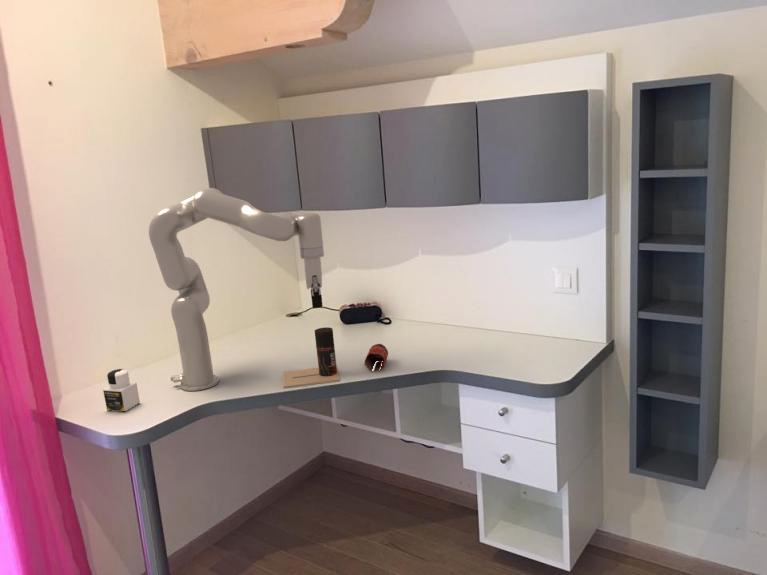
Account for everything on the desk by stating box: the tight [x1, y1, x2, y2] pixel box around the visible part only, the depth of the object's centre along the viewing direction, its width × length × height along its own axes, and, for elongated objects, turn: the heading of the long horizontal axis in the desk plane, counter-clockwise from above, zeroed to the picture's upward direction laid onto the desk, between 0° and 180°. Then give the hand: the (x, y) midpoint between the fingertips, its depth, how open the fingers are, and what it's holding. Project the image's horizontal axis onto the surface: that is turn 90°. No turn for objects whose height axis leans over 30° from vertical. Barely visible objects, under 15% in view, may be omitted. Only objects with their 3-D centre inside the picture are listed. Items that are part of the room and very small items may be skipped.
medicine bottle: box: [102, 368, 141, 412], centre depth 204 cm, size 7×7×12 cm
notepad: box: [282, 367, 340, 389], centre depth 217 cm, size 18×14×1 cm
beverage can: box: [363, 343, 389, 372], centre depth 222 cm, size 7×12×7 cm, turn 173°
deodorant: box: [314, 326, 338, 376], centre depth 216 cm, size 6×6×15 cm
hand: (317, 303), depth 213 cm, fingers open, 9 cm apart
